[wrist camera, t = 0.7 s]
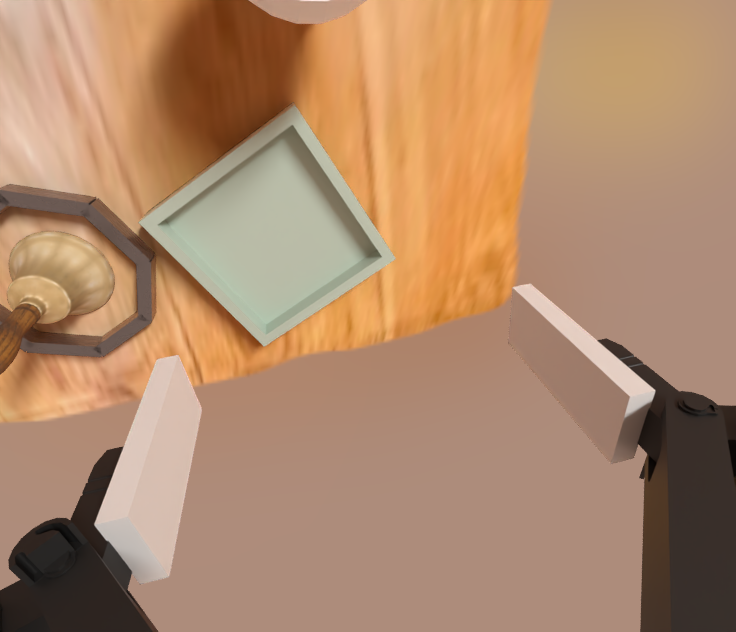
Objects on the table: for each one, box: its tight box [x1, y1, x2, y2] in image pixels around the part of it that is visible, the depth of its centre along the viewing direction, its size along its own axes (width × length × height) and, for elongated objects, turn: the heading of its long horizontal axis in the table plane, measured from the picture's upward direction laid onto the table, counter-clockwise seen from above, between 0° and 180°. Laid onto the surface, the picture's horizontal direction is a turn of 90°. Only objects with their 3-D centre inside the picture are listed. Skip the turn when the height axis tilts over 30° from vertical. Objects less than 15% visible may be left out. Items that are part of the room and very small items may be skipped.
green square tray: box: [138, 103, 396, 347], centre depth 40 cm, size 16×16×3 cm
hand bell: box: [0, 231, 115, 374], centre depth 32 cm, size 8×8×16 cm
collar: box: [0, 184, 156, 357], centre depth 38 cm, size 15×15×2 cm
